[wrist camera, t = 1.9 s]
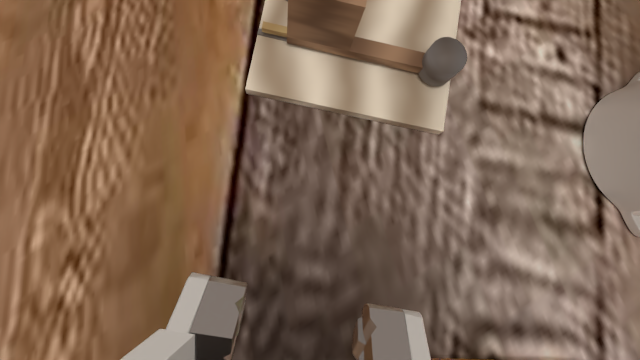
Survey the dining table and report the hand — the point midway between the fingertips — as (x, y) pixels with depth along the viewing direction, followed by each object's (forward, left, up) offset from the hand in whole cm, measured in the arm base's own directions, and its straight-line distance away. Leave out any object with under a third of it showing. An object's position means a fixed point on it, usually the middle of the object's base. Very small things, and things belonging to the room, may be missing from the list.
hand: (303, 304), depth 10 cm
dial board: (-3, -24, -24) cm, 35 cm away
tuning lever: (-3, -20, -23) cm, 31 cm away
